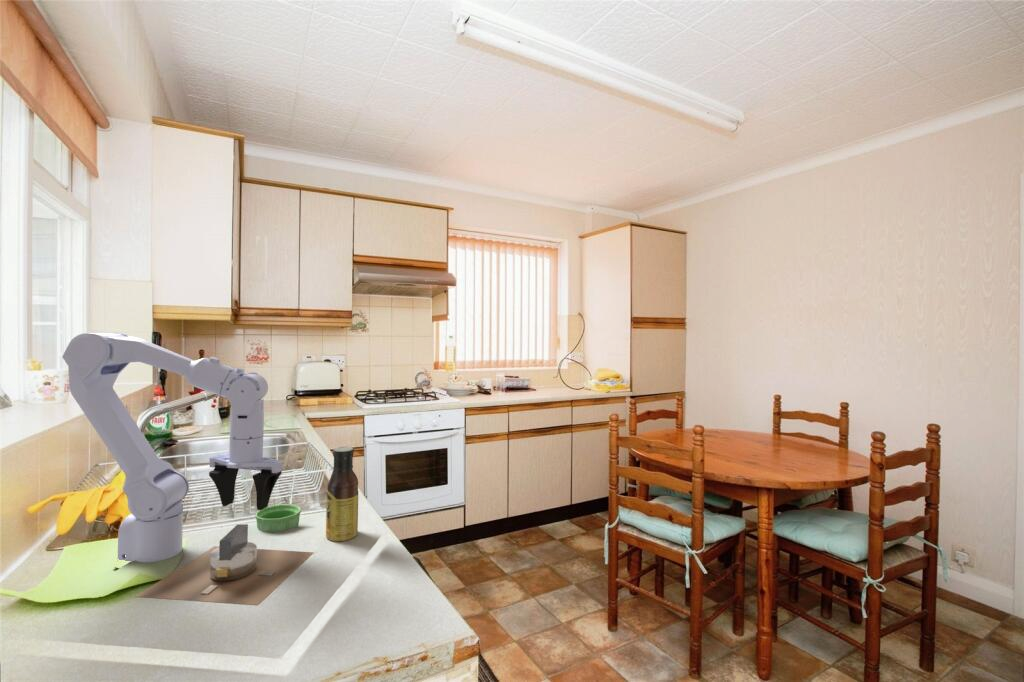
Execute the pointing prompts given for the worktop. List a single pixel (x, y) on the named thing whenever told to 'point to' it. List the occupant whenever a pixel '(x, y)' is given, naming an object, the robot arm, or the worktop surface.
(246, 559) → the silver rounded piece
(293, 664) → the worktop surface
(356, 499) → the sauce bottle
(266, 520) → the ramekin
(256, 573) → the baseplate
